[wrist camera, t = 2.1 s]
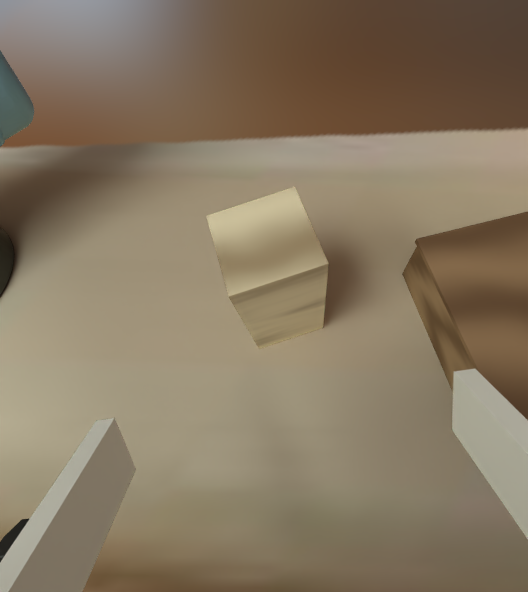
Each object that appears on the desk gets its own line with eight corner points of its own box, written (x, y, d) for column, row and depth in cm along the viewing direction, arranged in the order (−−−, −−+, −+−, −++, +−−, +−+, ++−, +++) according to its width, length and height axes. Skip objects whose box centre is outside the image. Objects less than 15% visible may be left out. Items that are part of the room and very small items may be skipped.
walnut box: (398, 274, 31) (416, 239, 26) (531, 241, 31) (578, 199, 25) (467, 437, 26) (509, 436, 20) (634, 401, 25) (723, 390, 20)
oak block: (242, 291, 33) (206, 215, 22) (300, 271, 33) (294, 186, 22) (259, 348, 30) (228, 296, 19) (323, 327, 30) (328, 263, 19)
